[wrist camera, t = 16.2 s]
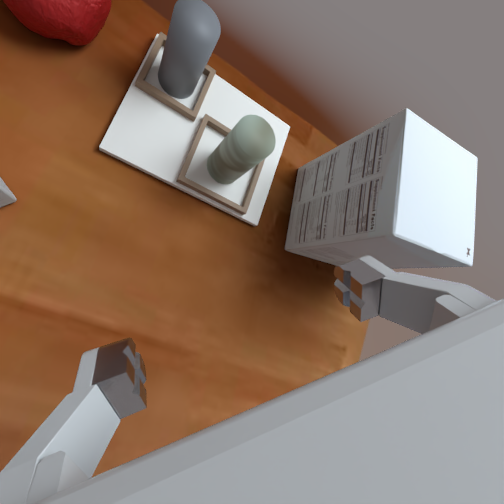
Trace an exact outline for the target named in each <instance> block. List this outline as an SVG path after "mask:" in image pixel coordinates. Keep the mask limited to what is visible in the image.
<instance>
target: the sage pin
mask: <svg viewBox="0 0 504 504" xmlns="http://www.w3.org/2000/svg"><path fill="white" fill-rule="evenodd" d="M275 143H276V139H275V134H274V131H273V129H272V127H271V126H270V124H269V123H268V122H267V121H266V120H265V119H263V118H262V117H260V116H257V115H246V116H244V117H242V118H241V119H240V120H239V122H238V123H237V124H236V125H235V126H234V128H233V129H232V130H231V131H230V132H229V133H228V135H227V136H226V137H225V138H224V139H223V140H222V142H221V143H220V144H219V145H218V146H217V147H216V149H215V150H214V151H213V152H212V153H211V155H210V156H209V158H208V160H207V169H208V172H209V174H210V176H211V177H212V178H213V179H214V180H215V181H216V182H218V183H221V184H231V183H233V182H234V181H236V180H237V179H238V178H240V177H241V176H242V175H244V174H245V173H246V172H248V171H249V170H250V169H252V168H253V167H255V166H256V165H257V164H259V163H260V162H261V161H263V160H264V159H265V158H267V157H268V156H269V155H270V154H271V153H272V152H273V150H274V148H275Z"/></svg>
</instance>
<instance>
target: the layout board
mask: <svg viewBox="0 0 504 504" xmlns="http://www.w3.org/2000/svg"><path fill="white" fill-rule="evenodd" d="M220 31H221V29H220V23H219V20H218V18H217V16H216V14H215V13H214V11H213V10H212V9H211V8H210V7H209V6H208V5H207V4H206V3H204V2H203V1H201V0H178V1H177V2H176V4H175V7H174V10H173V14H172V19H171V22H170V26H169V30H168V34H167V36H166V35H165V34H163V33H162V32H160V34H157V35H156V37H155V39H154V41H153V43H152V45H151V47H150V49H149V50H148V52H147V54H146V56H145V58H144V60H143V62H142V64H141V66H140V68H139V70H138V72H137V74H136V76H135V78H134V80H133V82H132V84H131V86H130V88H129V89H128V91H127V93H126V95H125V97H124V99H123V101H122V103H121V105H120V107H119V109H118V111H117V113H116V115H115V117H114V119H113V121H112V123H111V125H110V127H109V129H108V130H107V132H106V134H105V136H104V138H103V140H102V142H101V144H100V146H99V150H100V151H102V152H104V153H106V154H109V155H111V156H113V157H115V158H117V159H119V160H121V161H123V162H125V163H127V164H129V165H131V166H133V167H135V168H137V169H139V170H141V171H143V172H145V173H147V174H149V175H151V176H153V177H155V178H157V179H159V180H161V181H163V182H165V183H167V184H169V185H171V186H173V187H176V188H178V189H180V190H182V191H184V192H186V193H188V194H190V195H192V196H194V197H196V198H198V199H200V200H202V201H204V202H206V203H208V204H210V205H212V206H214V207H216V208H218V209H220V210H222V211H224V212H226V213H228V214H230V215H232V216H234V217H236V218H238V219H240V220H243V221H245V222H247V223H249V224H251V225H253V226H257V225H258V222H259V219H260V216H261V213H262V210H263V207H264V204H265V201H266V198H267V195H268V192H269V189H270V186H271V183H272V180H273V177H274V174H275V171H276V168H277V165H278V162H279V159H280V156H281V153H282V150H283V147H284V144H285V141H286V138H287V135H288V132H289V129H290V126H289V125H287V124H286V123H284V122H283V121H281V120H280V119H279V118H277V117H276V116H274V115H273V114H271V113H270V112H269V111H267V110H266V109H264V108H263V107H261V106H260V105H259V104H257V103H256V102H254V101H253V100H252V99H250V98H249V97H247V96H246V95H244V94H243V93H242V92H240V91H239V90H237V89H236V88H234V87H233V86H232V85H230V84H229V83H227V82H226V81H224V80H223V79H222V78H220V77H219V76H217V75H216V74H215V73H216V71H215V70H214V69H213V68H211V67H210V66H208V65H207V62H208V60H209V58H210V56H211V54H212V51H213V49H214V47H215V45H216V43H217V41H218V39H219V36H220ZM246 115H257V116H260V117H262V118H263V119H265V120H266V121H267V122H268V123H269V124H270V126H271V127H272V129H273V131H274V134H275V139H276V143H275V148H274V150H273V152H272V153H271V154H270V155H269V156H268V157H267V158H265V159H264V160H263V161H261V162H260V163H259V164H257V165H256V166H255V167H253V168H252V169H250V170H249V171H248V172H246V173H245V174H244V175H242V176H241V177H240V178H238V179H237V180H236V181H234V182H233V183H231V184H221V183H218V182H216V181H215V180H214V179H213V178H212V177H211V176H210V174H209V172H208V169H207V160H208V158H209V156H210V155H211V153H212V152H213V151H214V150H215V149H216V147H217V146H218V145H219V144H220V143H221V142H222V140H223V139H224V138H225V137H226V136H227V135H228V133H229V132H230V131H231V130H232V129H233V128H234V126H235V125H236V124H237V123H238V122H239V120H240V119H241V118H242V117H244V116H246Z"/></svg>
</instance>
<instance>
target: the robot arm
mask: <svg viewBox="0 0 504 504" xmlns="http://www.w3.org/2000/svg"><path fill="white" fill-rule="evenodd" d="M334 276H335V277H336V278H337V280H336V282H335V283H334V291H335V294H336V297H337V298H338V300H339V301H340V302H341V303H342V304H343V305H345V306H348V307H350V312H351V313H352V314H353V315H354V316H355V317H356V318H357V319H358V320H359V321H360V322H362V321H365V320H367V319H370V318H373V317H376V316H378V315H379V316H380V317H382V318H385V319H387V320H390V321H392V322H394V323H397V324H399V325H402V326H404V327H407V328H409V329H411V330H414V331H416V332H419V333H421V335H419V336H417V337H414V338H412V339H410V340H407V341H405V342H403V343H401V344H398V345H396V346H394V347H391V348H389V349H387V350H384V351H382V352H380V353H378V354H376V355H373V356H371V357H369V358H366V359H364V360H361V361H359V362H357V363H354V364H352V365H350V366H348V367H345V368H343V369H341V370H338V371H336V372H334V373H331V374H329V375H327V376H325V377H322V378H320V379H318V380H315V381H313V382H311V383H308V384H306V385H304V386H302V387H299V388H297V389H295V390H292V391H290V392H288V393H285V394H283V395H281V396H279V397H276V398H274V399H272V400H269V401H267V402H265V403H262V404H260V405H258V406H256V407H253V408H251V409H249V410H246V411H244V412H242V413H240V414H237V415H235V416H233V417H230V418H228V419H226V420H223V421H221V422H219V423H217V424H214V425H212V426H210V427H207V428H205V429H203V430H200V431H198V432H196V433H194V434H191V435H189V436H187V437H184V438H182V439H180V440H177V441H175V442H173V443H171V444H168V445H166V446H164V447H161V448H159V449H157V450H154V451H152V452H150V453H148V454H145V455H143V456H141V457H138V458H136V459H134V460H131V461H129V462H127V463H125V464H122V465H120V466H118V467H115V468H113V469H111V470H108V471H106V472H104V473H102V474H99V475H97V476H95V477H92V475H93V473H94V471H95V469H96V467H97V465H98V463H99V461H100V459H101V457H102V456H103V454H104V452H105V450H106V448H107V446H108V444H109V442H110V440H111V438H112V436H113V434H114V432H115V430H116V429H117V427H118V425H119V423H120V421H121V420H120V419H122V418H124V417H126V416H129V415H131V414H133V413H136V412H138V411H140V410H143V409H145V408H147V404H146V389H145V387H144V385H143V384H144V383H145V381H146V370H145V365H144V362H143V359H142V357H141V355H140V354H139V353H137V352H135V348H136V345H135V343H134V341H133V340H132V338H130V337H129V338H126V339H123V340H120V341H117V342H114V343H110V344H107V345H104V346H101V347H99V348H95V349H92V350H89V351H86V352H84V353H83V355H82V357H81V361H80V365H79V369H78V373H77V377H76V381H75V385H74V389H73V393H70V394H68V395H67V396H66V397H65V398H64V399H63V400H62V402H61V403H60V404H59V405H58V406H57V407H56V409H55V410H54V411H53V412H52V413H51V414H50V415H49V417H48V418H47V419H46V420H45V421H44V422H43V424H42V425H41V426H40V427H39V428H38V429H37V431H36V432H35V433H34V434H33V435H32V436H31V438H30V439H29V440H28V441H27V442H26V443H25V444H24V446H23V447H22V448H21V449H20V450H19V451H18V453H17V454H16V455H15V456H14V457H13V458H12V460H11V461H10V462H9V463H8V464H7V465H6V467H5V468H4V469H3V470H2V471H1V472H0V504H504V299H502V300H499V301H496V300H494V299H492V298H491V297H489V296H487V295H485V294H483V293H481V292H480V291H478V290H476V289H474V288H472V287H471V286H469V285H466V284H461V283H456V282H450V281H445V280H440V279H435V278H430V277H425V276H420V275H414V274H409V273H404V272H398V273H397V272H395V271H393V270H392V269H390V268H389V267H387V266H386V265H384V264H383V263H381V262H379V261H378V260H376V259H375V258H373V257H372V256H369V255H366V256H363V257H360V258H358V259H356V260H353V261H350V262H347V263H344V264H342V265H339V266H336V267H335V269H334ZM91 477H92V478H91Z"/></svg>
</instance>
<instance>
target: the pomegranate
mask: <svg viewBox="0 0 504 504" xmlns="http://www.w3.org/2000/svg"><path fill="white" fill-rule="evenodd" d="M3 2H4V3H5V4H6V5H7V7H8V8H9V9H10V11H11V12H12V13H13V14H14V15H15V17H16V18H17V19H18V20H19V21H20V22H21V23H22V24H23V25H24V26H25V27H27V28H28V29H29V30H31V31H34V32H35V33H37V34H39V35H41V36H43V37H46V38H50V39H62V40H65V41H67V42H68V43H70V44H72V45H86V44H88V43H90V42H91V41H92V40H93V39H94V38H95V37H96V36H97V34H98V33H99V31H100V30H101V29H102V27H103V26H104V24H105V21H106V18H107V17H108V14H109V12H110V8H111V0H3Z"/></svg>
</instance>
